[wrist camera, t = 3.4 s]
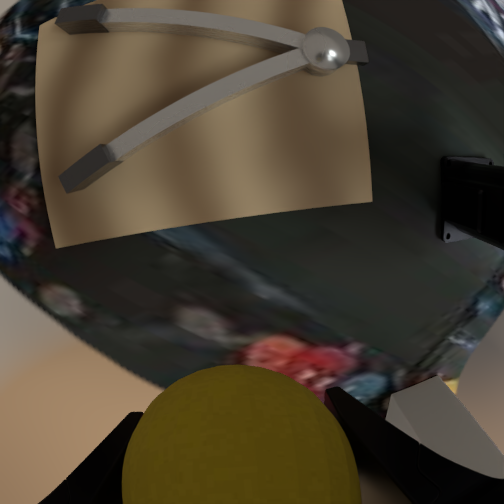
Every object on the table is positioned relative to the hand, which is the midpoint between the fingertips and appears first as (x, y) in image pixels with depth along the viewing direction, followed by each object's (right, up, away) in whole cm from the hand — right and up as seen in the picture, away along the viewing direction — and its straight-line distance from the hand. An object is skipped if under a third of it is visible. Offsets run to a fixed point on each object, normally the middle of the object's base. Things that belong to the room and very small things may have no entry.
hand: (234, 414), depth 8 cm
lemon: (0, +1, +2) cm, 2 cm away
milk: (+17, -11, +17) cm, 27 cm away
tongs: (-2, +15, +6) cm, 16 cm away
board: (-3, +14, +7) cm, 16 cm away
